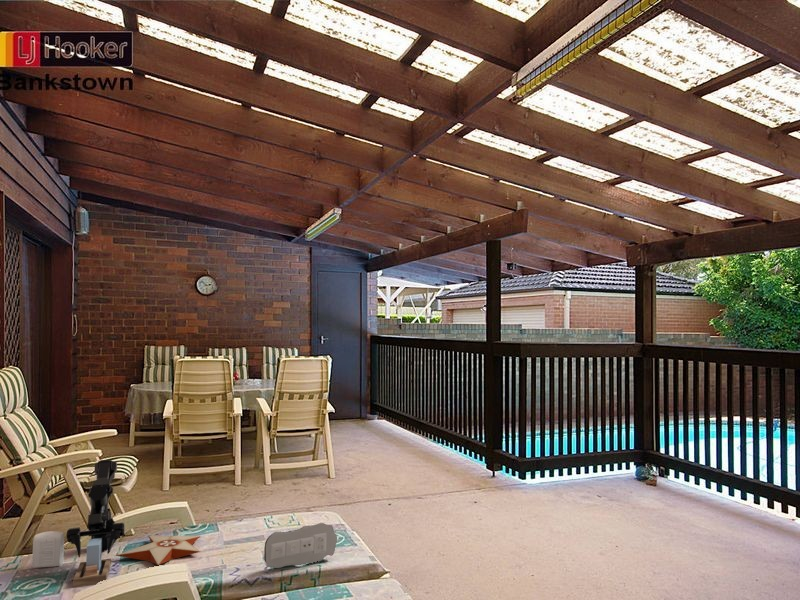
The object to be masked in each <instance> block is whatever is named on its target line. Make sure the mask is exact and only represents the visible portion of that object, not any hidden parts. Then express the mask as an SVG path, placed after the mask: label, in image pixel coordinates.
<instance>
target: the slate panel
mask: <svg viewBox="0 0 800 600" xmlns="http://www.w3.org/2000/svg"><path fill="white" fill-rule="evenodd" d="M102 554H103V552H102V538H97V539H91V538H90V539H88V542H87V545H86V558H85V559H86V561H85V562H86V567H87V566H92V565H97V571H98V570H99V574H100V573H101V570H102V566H101V560H102Z"/></svg>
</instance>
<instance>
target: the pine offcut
mask: <svg viewBox="0 0 800 600" xmlns="http://www.w3.org/2000/svg"><path fill="white" fill-rule="evenodd" d="M96 575H100V573H99V570H98V571H97V574H96ZM90 576H95V575H90ZM82 577H88V576H86V571H84V572H83V575H82Z"/></svg>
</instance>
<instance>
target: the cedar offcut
mask: <svg viewBox="0 0 800 600" xmlns="http://www.w3.org/2000/svg"><path fill="white" fill-rule="evenodd" d="M85 572H86V576H90V575H96V574H97V565H92V566H87V567H86V569H85Z"/></svg>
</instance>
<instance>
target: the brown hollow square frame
mask: <svg viewBox="0 0 800 600" xmlns="http://www.w3.org/2000/svg"><path fill="white" fill-rule="evenodd" d="M111 565H112V558H110V557H109V558H105V559H101V567H103V569H102V573H101V574H99V575H95V576H88V577H83V575H84V573H85V571H86V561H80V562H79V565H78V567H77V570H76V572H75V575H74V578H73V581H72V582H73V583H72V584H73V585H72V588H79V587H84V586H91V585H93V586H94V585H97V584H96V583H98V582H100V581H103V580H106V579H108V576H109V573H110V569H111Z"/></svg>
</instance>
